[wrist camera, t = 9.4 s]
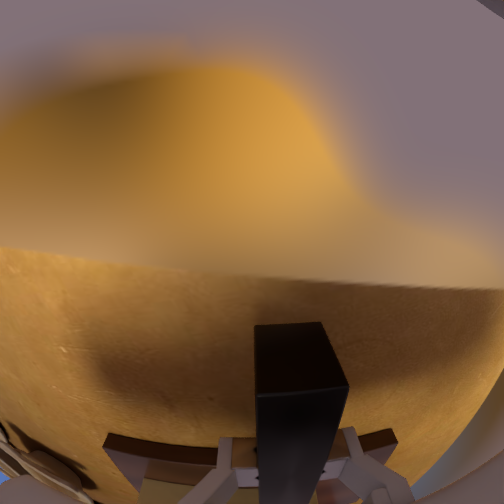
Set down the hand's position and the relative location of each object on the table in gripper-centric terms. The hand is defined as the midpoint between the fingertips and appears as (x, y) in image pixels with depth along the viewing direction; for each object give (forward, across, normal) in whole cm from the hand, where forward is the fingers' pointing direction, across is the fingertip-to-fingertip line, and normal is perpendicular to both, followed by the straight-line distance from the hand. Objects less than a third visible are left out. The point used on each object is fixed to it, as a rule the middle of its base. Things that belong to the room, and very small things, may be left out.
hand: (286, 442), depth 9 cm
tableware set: (+4, +35, +25) cm, 43 cm away
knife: (+2, 0, +6) cm, 6 cm away
